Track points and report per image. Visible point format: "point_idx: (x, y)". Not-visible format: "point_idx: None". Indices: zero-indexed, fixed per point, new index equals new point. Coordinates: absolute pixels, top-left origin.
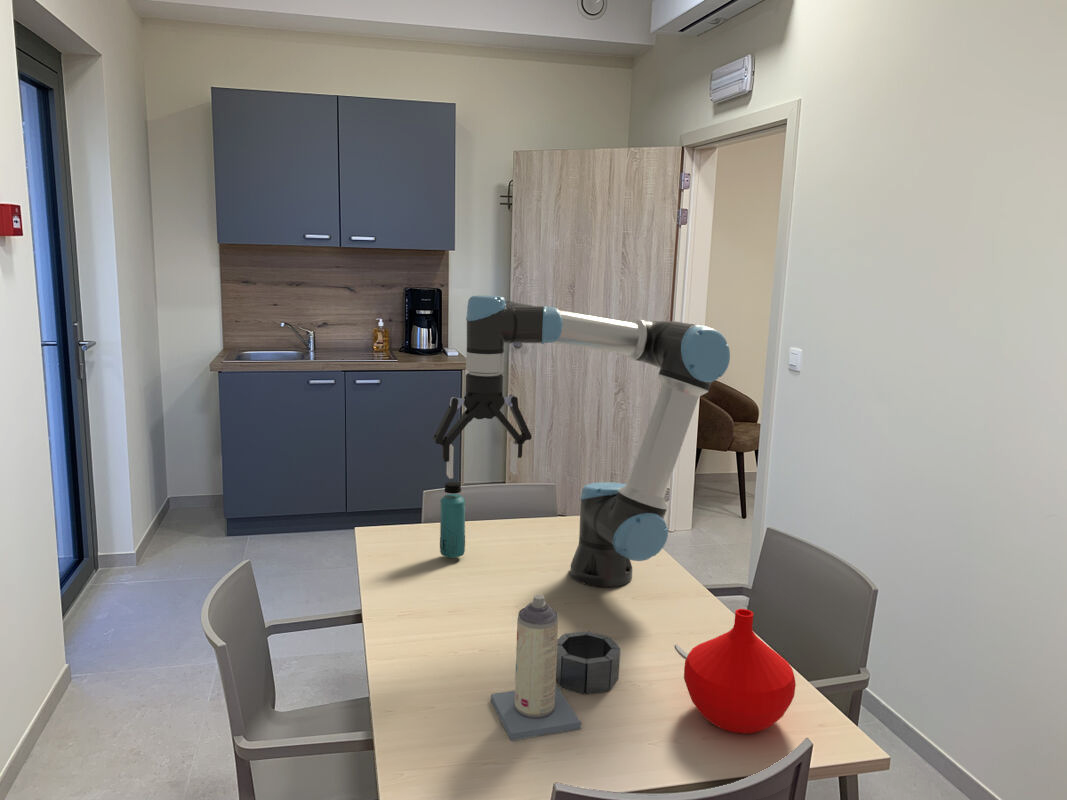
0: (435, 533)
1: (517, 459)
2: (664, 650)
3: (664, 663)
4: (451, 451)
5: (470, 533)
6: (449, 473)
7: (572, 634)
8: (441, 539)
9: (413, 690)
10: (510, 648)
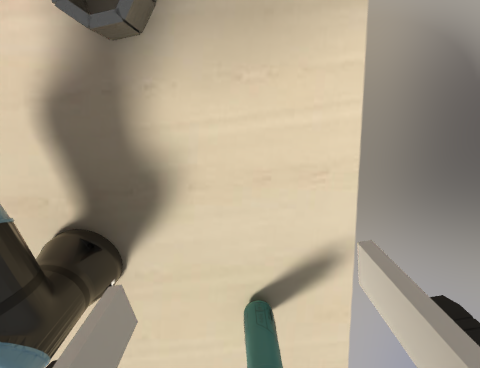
0: None
1: (70, 342)
2: (7, 58)
3: (7, 21)
4: (461, 343)
5: (233, 363)
6: (383, 252)
7: (110, 17)
8: (273, 322)
9: None
10: (203, 79)
